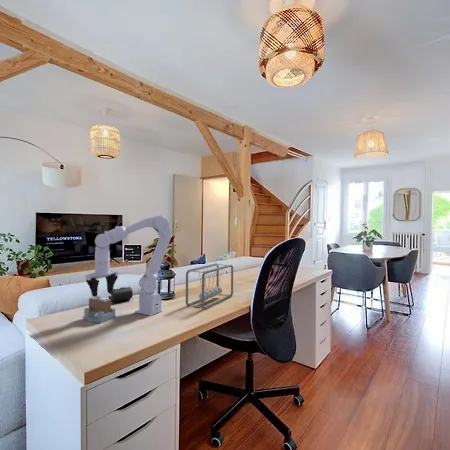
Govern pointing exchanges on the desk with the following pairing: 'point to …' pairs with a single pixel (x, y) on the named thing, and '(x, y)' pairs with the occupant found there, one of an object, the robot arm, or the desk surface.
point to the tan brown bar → (100, 304)
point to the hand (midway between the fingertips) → (102, 294)
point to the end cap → (121, 294)
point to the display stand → (99, 315)
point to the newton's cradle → (212, 291)
